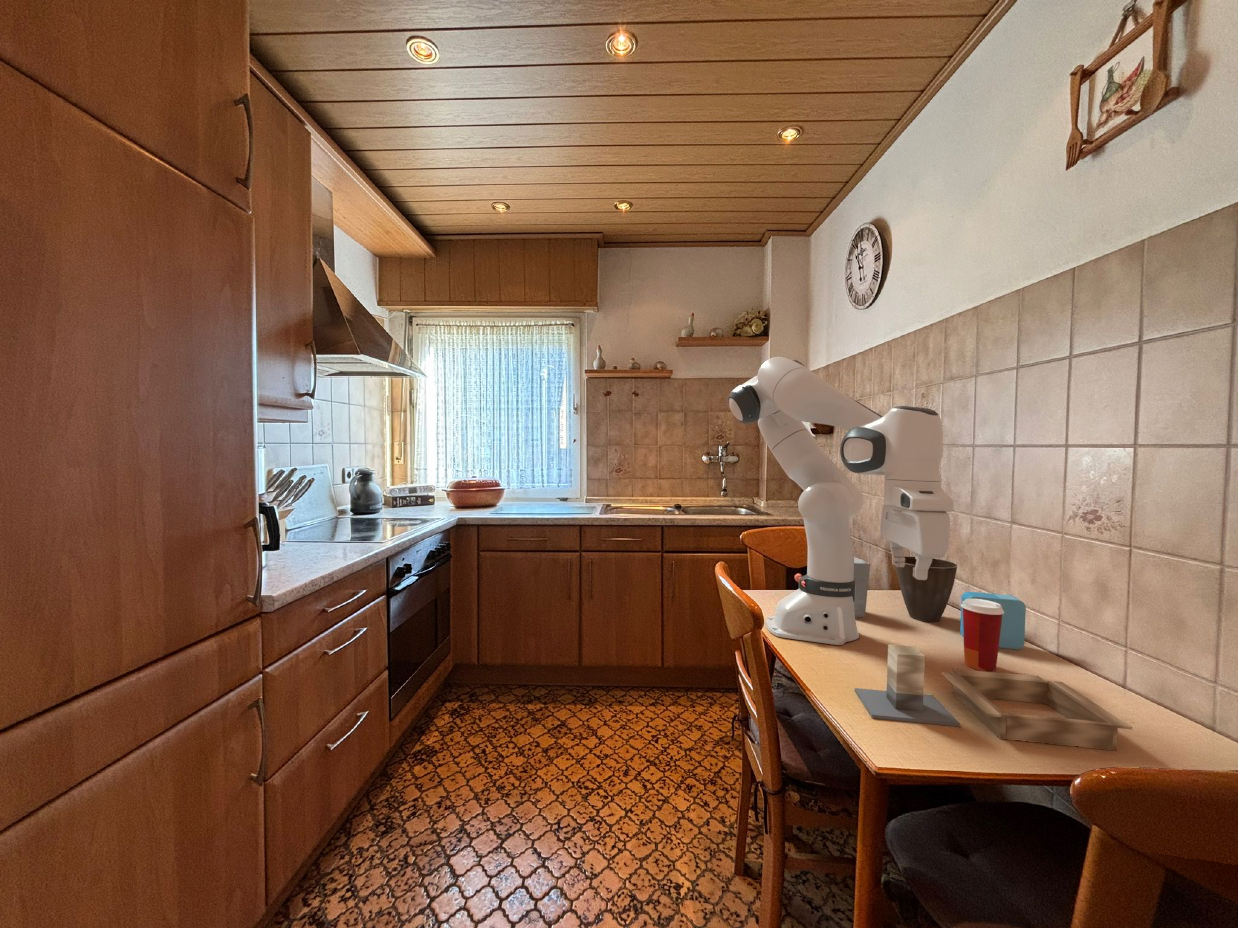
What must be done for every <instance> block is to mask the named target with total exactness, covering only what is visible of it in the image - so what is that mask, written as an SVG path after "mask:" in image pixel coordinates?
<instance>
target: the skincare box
mask: <svg viewBox="0 0 1238 928" xmlns="http://www.w3.org/2000/svg"><path fill="white" fill-rule="evenodd" d="M870 568H871V564H870V563H869V562H867V561H864V559H860V558H858V557H855V556H854V580H855V585H856V595H855V601H854V613H855V618H857V617H859V618H861V617H862V618H865V617H866V612H867V611H866V610H867V609H866V608H867V600H868V599H867V598H868V588H869V579H870Z"/></svg>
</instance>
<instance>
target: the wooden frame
mask: <svg viewBox="0 0 1238 928" xmlns="http://www.w3.org/2000/svg"><path fill="white" fill-rule="evenodd" d="M941 672H942V673H941V674H942V676H944V677H945V678H946V680H948V682H950V683H951V684H952V694H953V696H955V697H956V698H957V699H958V700H959V701H960V703H962V702H963V703H962V704H963V705H964V704H965V705H966V706H965V705H964V706H965V707H966V708H967V707H968V708H969V709H970V710H971V711H972V712H973V713H972V712H971V713H972V714H973V715H974V716H975V717H977V718H978V719H979V720H980V721H981V722H982V723H983V724H984V725H985V726H986V727H987V726H988V727H987V728H988V729H989V730H990V731H991V732H992V733H993V734H994V735H995V736H996V737H997V736H998V737H997V738H999V740H1005V739H1008V741H1015V740H1022V741H1021V742H1025V741H1029V743H1035V742H1041V743H1040V744H1045V743H1051V744H1050V745H1055V744H1056V745H1058V746H1065V745H1066V746H1067V747H1075V746H1079V747H1078V748H1086V749H1087V748H1088V749H1097V750H1104V751H1105V750H1106V751H1107V750H1108V751H1116V752H1117V751H1118V748H1117V747H1118V730H1119V729H1121V730H1122V729H1123V730H1133V726H1132V725H1130V724H1128V723H1127V722H1126V721H1123V720H1122V719H1121V718H1119V717H1118V716H1116V715H1115V714H1113V713H1111V712H1110V711H1108V710H1107V709H1105V708H1103V707H1102V706H1100V705H1099V704H1098V703H1095V702H1094V701H1092V700H1091V699H1089V698H1088V697H1087V696H1085V695H1083V694H1082V693H1080V692H1078V691H1077V690H1075V689H1074V688H1073V687H1071V686H1069V685H1068V684H1066V683H1065V682H1063V681H1054V680H1045V679H1043V678H1042V677H1041V676H1039V675H1033V674H1032V675H1030V674H1021V673H1020V674H1018V673H1009V672H1008V673H1006V672H994V671H992V672H987V671H980V670H969V669H959V668H958V669H957V668H956V669H955V668H953V669H952V672H944V671H941ZM990 699H993V700H1002V701H1014V702H1025V703H1026V702H1027V703H1037V704H1046V705H1048V706H1050V708H1052V709H1054V710H1055V711H1057V712H1058V713H1059V714H1060V715H1062V716H1063V717H1053V716H1042V715H1032V714H1022V713H1009V712H1004V711H1002V710H1001V709H1000V708H999V707H997V705H995V704H994V703H993V702H991V701H990ZM968 708H967V709H968ZM969 709H968V710H969ZM970 710H969V711H970ZM1024 740H1025V741H1024Z"/></svg>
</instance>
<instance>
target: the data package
mask: <svg viewBox="0 0 1238 928" xmlns="http://www.w3.org/2000/svg"><path fill="white" fill-rule="evenodd" d="M965 599H982V600H988V601H992V602H995V603H998V604H1000V605H1001V606H1002V610H1003V611H1004V614H1002V624H1001V632H1000V640H999V648H1000V649H1009V650H1015V649H1016V650H1022V649H1023V648H1024V646H1025V640H1026V639H1025V635H1026V634H1025V633H1026V613H1027V612H1026V611H1027V609H1026V608H1027V605H1026V604H1025V602H1023V601H1022V600H1020V599H1019V598H1017V597H1015V596H1014V595H1012V594H1001V593H1000V594H999V593H991V592H990V593H987V592H978V591H976V592H975V591H965V592H964V593H962V595H961V603H960V605H961V604H963V603H962V602H963V601H964V600H965ZM959 628H960V631H959V633H960V635H961V637H963V638H964V634H963V607H961V606H960V626H959ZM1016 650H1015V651H1016Z"/></svg>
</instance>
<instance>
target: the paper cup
mask: <svg viewBox="0 0 1238 928" xmlns="http://www.w3.org/2000/svg"><path fill="white" fill-rule="evenodd" d="M962 603H963V604H961V603H960V608H961V607H963V634H964V637H963V655H964V656H963V657H964V664H965V666H967V667H969V668H971V669H974V670H975V671H983V672H994V671H996V670H997V665H998V664H997V663H998V655H999V640H1000V632H1001V624H1002V614H1004V611H1003V610H1002V606H1001V605H1000V604H998V603H995V602H992V601H988V600H982V599H965V600H964V601H963V602H962Z"/></svg>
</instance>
